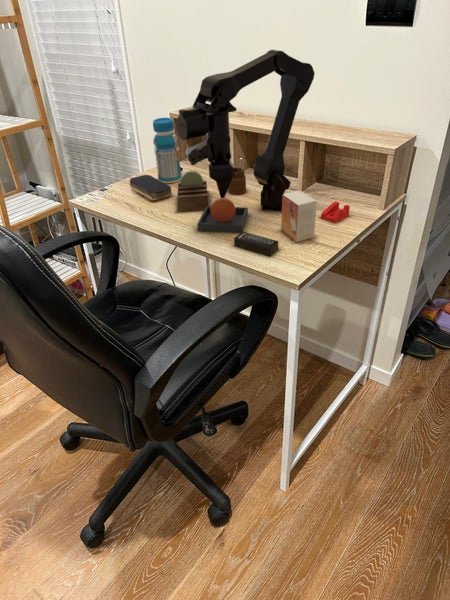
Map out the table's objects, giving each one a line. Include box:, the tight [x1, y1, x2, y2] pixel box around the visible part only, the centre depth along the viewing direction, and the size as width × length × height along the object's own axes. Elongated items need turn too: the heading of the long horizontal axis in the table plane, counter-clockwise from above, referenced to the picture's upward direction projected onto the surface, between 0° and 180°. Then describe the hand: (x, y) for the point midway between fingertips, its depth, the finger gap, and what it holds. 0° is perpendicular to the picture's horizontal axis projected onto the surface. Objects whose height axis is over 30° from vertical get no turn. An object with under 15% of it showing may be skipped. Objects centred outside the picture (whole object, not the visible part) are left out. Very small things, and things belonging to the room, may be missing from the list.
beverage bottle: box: [152, 117, 183, 184], centre depth 153 cm, size 8×8×20 cm
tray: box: [197, 205, 249, 234], centre depth 128 cm, size 12×11×2 cm
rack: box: [176, 180, 211, 214], centre depth 140 cm, size 10×12×5 cm
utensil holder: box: [227, 158, 247, 195], centre depth 143 cm, size 6×6×12 cm
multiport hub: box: [233, 231, 279, 257], centre depth 116 cm, size 4×11×2 cm, turn 54°
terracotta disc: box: [210, 197, 236, 223], centre depth 126 cm, size 7×1×7 cm, turn 94°
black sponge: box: [129, 174, 173, 201], centre depth 148 cm, size 16×8×4 cm, turn 38°
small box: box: [280, 190, 318, 243], centre depth 118 cm, size 8×6×10 cm
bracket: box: [320, 200, 351, 224], centre depth 127 cm, size 6×5×3 cm
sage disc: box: [180, 170, 204, 186], centre depth 141 cm, size 7×1×7 cm, turn 94°
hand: (221, 191), depth 123 cm, fingers open, 9 cm apart
